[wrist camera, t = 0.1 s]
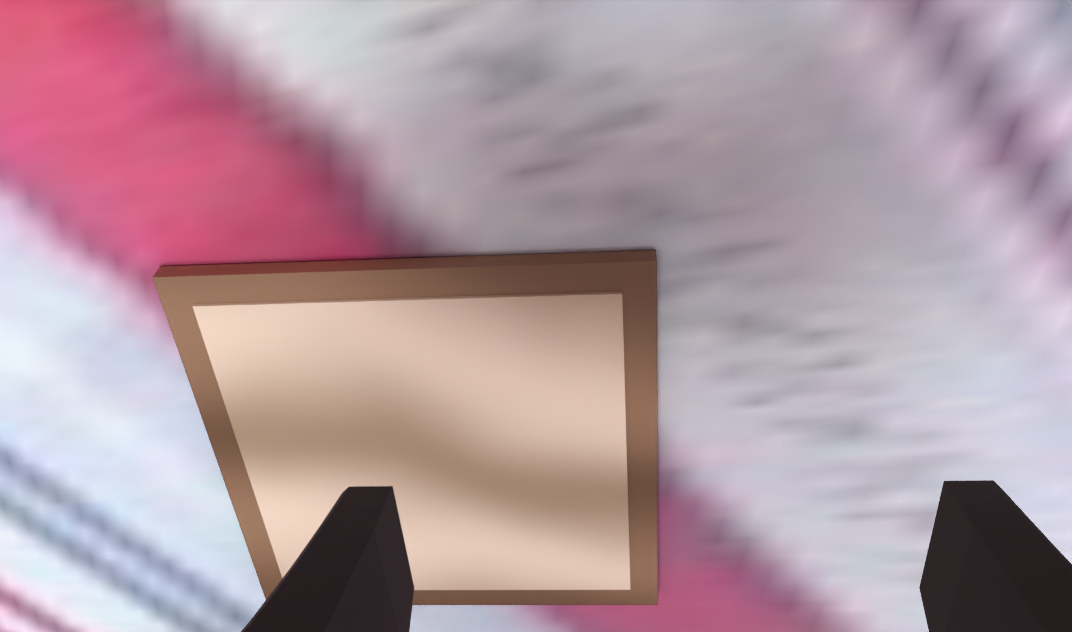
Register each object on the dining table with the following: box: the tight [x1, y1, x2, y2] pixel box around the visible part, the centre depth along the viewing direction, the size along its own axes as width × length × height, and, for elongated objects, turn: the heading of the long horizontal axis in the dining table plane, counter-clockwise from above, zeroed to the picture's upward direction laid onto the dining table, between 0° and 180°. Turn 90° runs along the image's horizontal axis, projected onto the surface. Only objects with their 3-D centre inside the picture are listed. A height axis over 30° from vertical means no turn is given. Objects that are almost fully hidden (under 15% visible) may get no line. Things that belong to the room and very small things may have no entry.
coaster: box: [153, 250, 658, 605], centre depth 26 cm, size 12×12×1 cm
